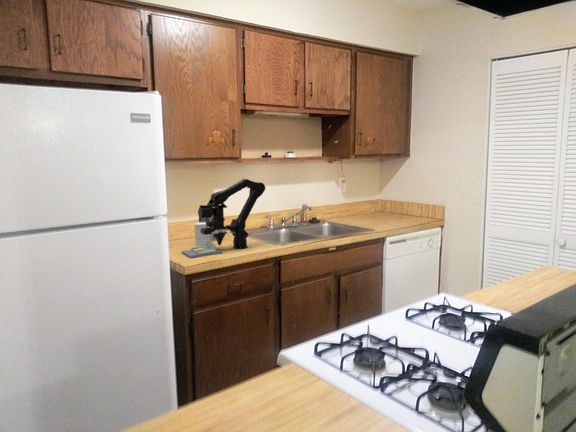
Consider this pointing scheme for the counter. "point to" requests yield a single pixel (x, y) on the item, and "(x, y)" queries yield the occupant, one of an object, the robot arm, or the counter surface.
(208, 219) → the coffee box
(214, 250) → the panel
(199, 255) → the board
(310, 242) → the counter surface
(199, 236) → the supplement box
